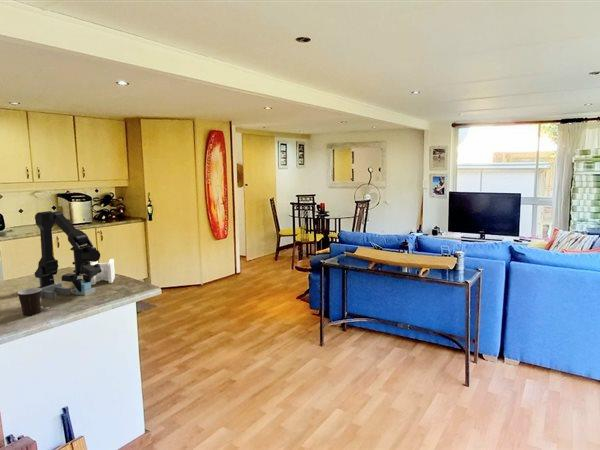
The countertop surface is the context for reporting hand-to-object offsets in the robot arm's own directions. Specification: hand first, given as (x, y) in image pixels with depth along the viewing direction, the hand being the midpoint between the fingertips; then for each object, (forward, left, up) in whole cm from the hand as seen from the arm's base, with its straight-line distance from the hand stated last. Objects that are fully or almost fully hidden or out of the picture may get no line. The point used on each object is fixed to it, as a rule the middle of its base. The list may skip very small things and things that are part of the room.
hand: (83, 290), depth 206 cm
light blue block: (0, 0, -1) cm, 1 cm away
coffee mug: (0, -28, -2) cm, 28 cm away
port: (-9, -8, -2) cm, 12 cm away
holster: (0, 0, -2) cm, 2 cm away
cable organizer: (-7, +19, -2) cm, 20 cm away
